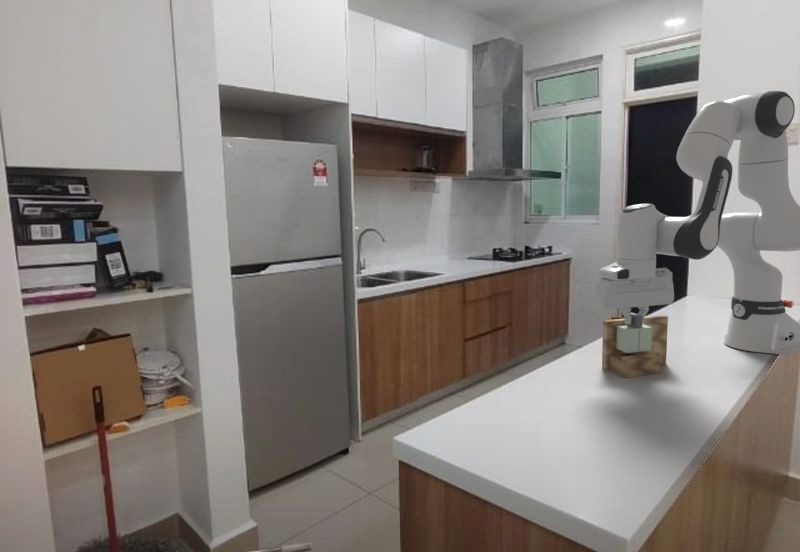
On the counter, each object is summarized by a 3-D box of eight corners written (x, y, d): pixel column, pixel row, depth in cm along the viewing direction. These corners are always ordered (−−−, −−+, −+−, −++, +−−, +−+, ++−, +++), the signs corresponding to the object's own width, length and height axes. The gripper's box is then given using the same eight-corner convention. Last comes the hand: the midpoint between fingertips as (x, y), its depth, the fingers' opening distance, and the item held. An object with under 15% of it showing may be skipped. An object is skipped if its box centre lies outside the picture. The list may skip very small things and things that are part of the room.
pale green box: (640, 346, 128) (641, 311, 127) (651, 350, 124) (652, 314, 123) (616, 348, 127) (617, 313, 125) (626, 353, 123) (627, 317, 121)
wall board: (661, 361, 133) (663, 314, 131) (683, 370, 125) (685, 321, 123) (602, 368, 129) (603, 320, 127) (620, 378, 122) (621, 327, 120)
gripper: (663, 265, 128) (661, 317, 130) (592, 270, 124) (591, 324, 126) (681, 268, 121) (679, 323, 123) (607, 273, 118) (606, 330, 119)
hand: (634, 323), depth 124 cm, fingers closed on pale green box
